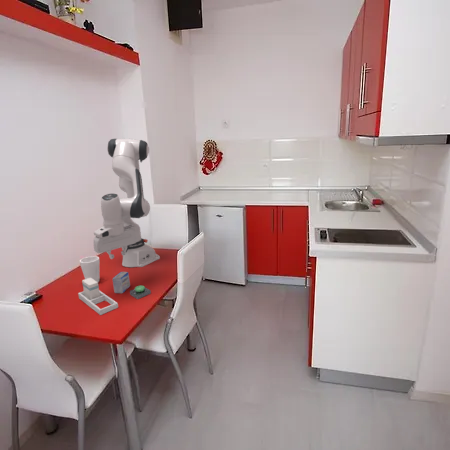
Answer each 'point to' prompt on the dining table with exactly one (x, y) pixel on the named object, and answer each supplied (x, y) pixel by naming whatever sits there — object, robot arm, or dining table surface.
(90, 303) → the white rectangular tray
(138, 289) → the button
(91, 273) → the foam cup
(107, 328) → the dining table surface
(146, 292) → the grey button housing
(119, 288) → the medicine box
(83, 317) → the dining table surface
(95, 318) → the dining table surface
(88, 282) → the seated billet
